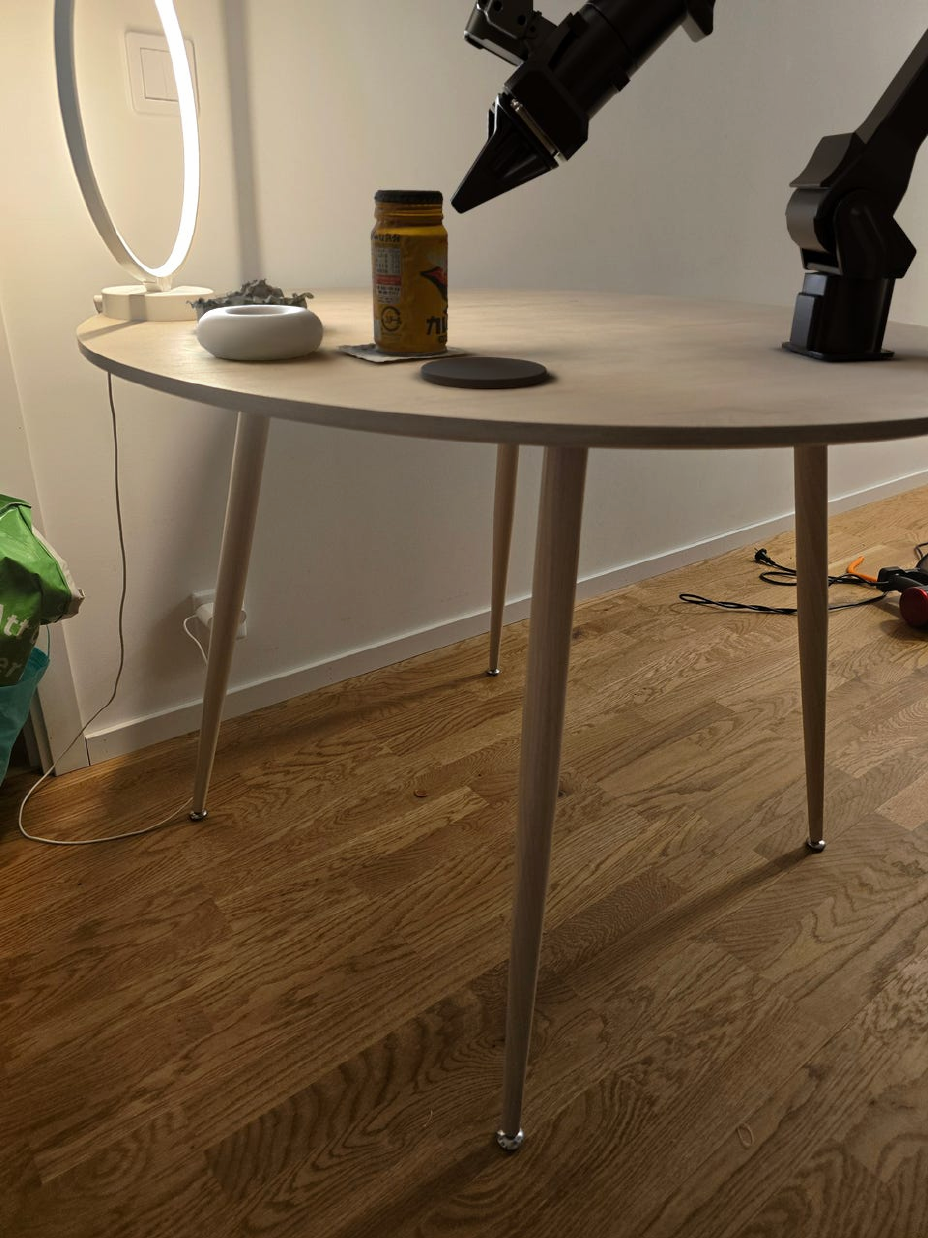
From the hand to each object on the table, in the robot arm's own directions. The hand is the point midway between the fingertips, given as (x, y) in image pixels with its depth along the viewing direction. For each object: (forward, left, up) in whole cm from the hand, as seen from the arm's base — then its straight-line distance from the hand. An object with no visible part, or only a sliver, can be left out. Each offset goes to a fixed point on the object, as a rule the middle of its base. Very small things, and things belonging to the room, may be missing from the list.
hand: (454, 207), depth 68 cm
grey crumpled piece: (+15, -17, -11) cm, 25 cm away
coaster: (0, +10, -11) cm, 15 cm away
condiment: (+4, -1, -11) cm, 12 cm away
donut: (+15, -3, -11) cm, 19 cm away
